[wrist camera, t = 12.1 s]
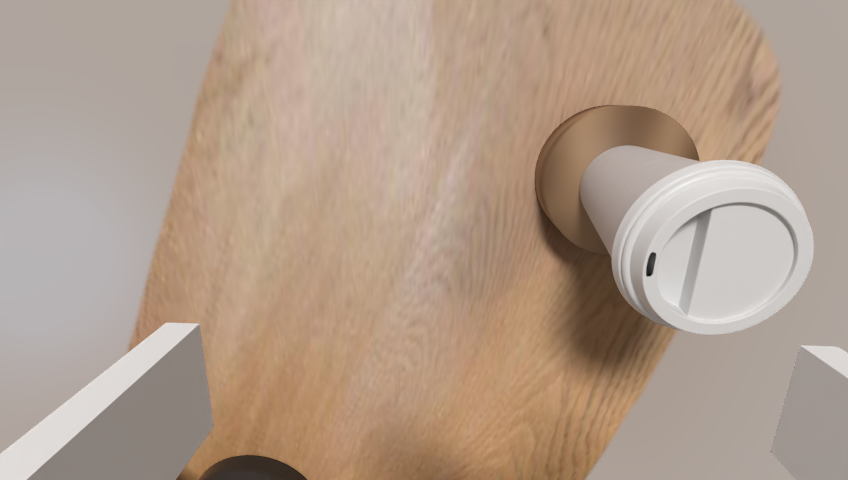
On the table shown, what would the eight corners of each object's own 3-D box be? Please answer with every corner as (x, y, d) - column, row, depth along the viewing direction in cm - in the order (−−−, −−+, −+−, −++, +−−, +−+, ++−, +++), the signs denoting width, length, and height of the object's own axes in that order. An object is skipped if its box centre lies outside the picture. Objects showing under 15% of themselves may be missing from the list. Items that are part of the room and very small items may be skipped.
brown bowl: (527, 235, 43) (537, 252, 38) (542, 102, 40) (555, 102, 35) (656, 241, 43) (683, 259, 38) (682, 108, 39) (715, 109, 35)
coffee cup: (598, 104, 34) (697, 136, 20) (710, 153, 35) (880, 216, 21) (538, 216, 38) (589, 310, 24) (642, 258, 38) (749, 373, 25)
